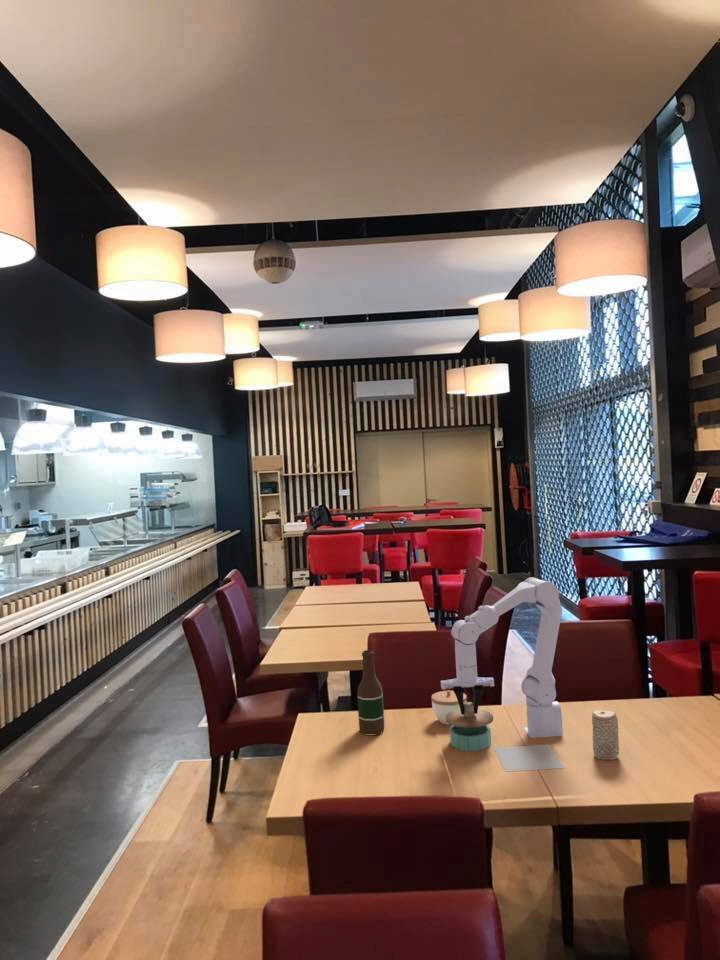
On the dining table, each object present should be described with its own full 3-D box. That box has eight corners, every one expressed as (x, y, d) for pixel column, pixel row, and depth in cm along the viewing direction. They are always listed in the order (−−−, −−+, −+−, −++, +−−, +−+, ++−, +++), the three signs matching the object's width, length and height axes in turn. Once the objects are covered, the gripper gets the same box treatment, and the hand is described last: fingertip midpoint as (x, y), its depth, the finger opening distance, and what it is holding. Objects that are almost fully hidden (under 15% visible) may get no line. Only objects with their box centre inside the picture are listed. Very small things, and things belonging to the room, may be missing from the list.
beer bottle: (389, 728, 214) (385, 649, 213) (376, 737, 207) (372, 655, 206) (368, 724, 218) (363, 646, 217) (354, 733, 211) (349, 653, 211)
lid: (486, 709, 204) (485, 694, 204) (498, 725, 191) (498, 709, 191) (441, 713, 203) (440, 698, 203) (451, 729, 190) (450, 713, 190)
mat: (548, 746, 194) (548, 744, 193) (565, 770, 178) (564, 767, 178) (493, 750, 193) (493, 747, 193) (505, 773, 178) (505, 771, 178)
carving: (589, 761, 183) (587, 714, 183) (599, 750, 189) (596, 706, 189) (614, 766, 179) (611, 719, 179) (623, 755, 185) (621, 709, 185)
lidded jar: (467, 714, 221) (465, 684, 221) (468, 727, 211) (467, 696, 211) (432, 715, 223) (430, 685, 222) (432, 728, 212) (430, 697, 212)
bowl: (486, 736, 203) (485, 720, 203) (494, 751, 192) (493, 735, 192) (448, 738, 203) (447, 722, 203) (453, 754, 192) (453, 737, 192)
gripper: (442, 670, 193) (444, 719, 193) (495, 666, 193) (497, 716, 194) (438, 662, 200) (441, 710, 200) (490, 659, 200) (492, 707, 201)
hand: (468, 712), depth 198 cm, fingers closed on lid, 3 cm apart
